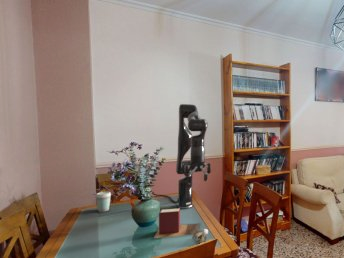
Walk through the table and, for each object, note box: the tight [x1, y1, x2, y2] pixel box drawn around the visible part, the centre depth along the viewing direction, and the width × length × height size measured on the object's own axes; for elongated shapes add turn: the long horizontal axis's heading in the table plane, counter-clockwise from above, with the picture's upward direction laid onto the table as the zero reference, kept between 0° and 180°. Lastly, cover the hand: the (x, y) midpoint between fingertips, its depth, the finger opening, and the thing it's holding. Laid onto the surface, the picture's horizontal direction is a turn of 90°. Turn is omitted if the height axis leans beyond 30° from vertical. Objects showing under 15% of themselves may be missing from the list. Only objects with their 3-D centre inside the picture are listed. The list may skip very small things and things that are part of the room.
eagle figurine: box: [191, 228, 209, 246], centre depth 132 cm, size 8×7×9 cm
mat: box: [153, 223, 200, 239], centre depth 144 cm, size 22×14×1 cm, turn 106°
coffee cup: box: [95, 191, 112, 213], centre depth 172 cm, size 8×8×12 cm
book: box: [158, 207, 181, 234], centre depth 142 cm, size 10×5×12 cm, turn 106°
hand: (197, 181), depth 144 cm, fingers open, 8 cm apart
